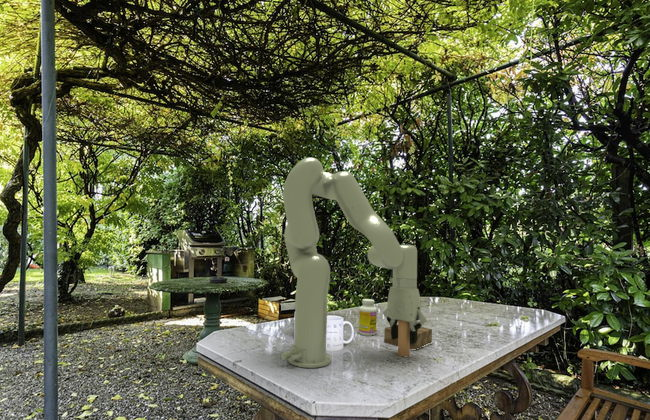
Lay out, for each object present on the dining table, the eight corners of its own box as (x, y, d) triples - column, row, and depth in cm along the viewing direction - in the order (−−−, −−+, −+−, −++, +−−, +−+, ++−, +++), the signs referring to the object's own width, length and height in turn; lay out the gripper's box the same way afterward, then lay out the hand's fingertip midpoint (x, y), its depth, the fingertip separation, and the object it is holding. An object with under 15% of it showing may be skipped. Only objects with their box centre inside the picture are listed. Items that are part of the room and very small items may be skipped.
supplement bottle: (370, 337, 135) (371, 302, 136) (355, 334, 139) (356, 299, 140) (379, 333, 141) (380, 299, 141) (364, 330, 145) (365, 297, 145)
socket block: (414, 350, 121) (414, 335, 121) (384, 342, 129) (384, 328, 129) (431, 343, 129) (432, 329, 130) (402, 336, 137) (402, 323, 138)
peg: (405, 358, 113) (406, 318, 114) (395, 355, 115) (396, 316, 116) (411, 355, 116) (412, 316, 116) (401, 352, 118) (402, 314, 119)
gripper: (375, 281, 120) (374, 337, 119) (423, 287, 108) (422, 349, 107) (388, 280, 126) (387, 333, 124) (435, 285, 114) (434, 344, 113)
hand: (403, 340), depth 116 cm, fingers open, 5 cm apart
